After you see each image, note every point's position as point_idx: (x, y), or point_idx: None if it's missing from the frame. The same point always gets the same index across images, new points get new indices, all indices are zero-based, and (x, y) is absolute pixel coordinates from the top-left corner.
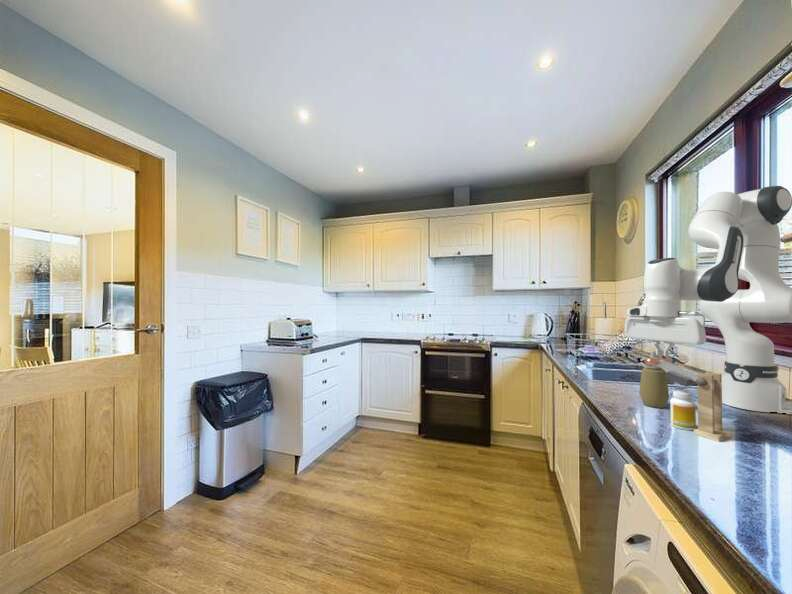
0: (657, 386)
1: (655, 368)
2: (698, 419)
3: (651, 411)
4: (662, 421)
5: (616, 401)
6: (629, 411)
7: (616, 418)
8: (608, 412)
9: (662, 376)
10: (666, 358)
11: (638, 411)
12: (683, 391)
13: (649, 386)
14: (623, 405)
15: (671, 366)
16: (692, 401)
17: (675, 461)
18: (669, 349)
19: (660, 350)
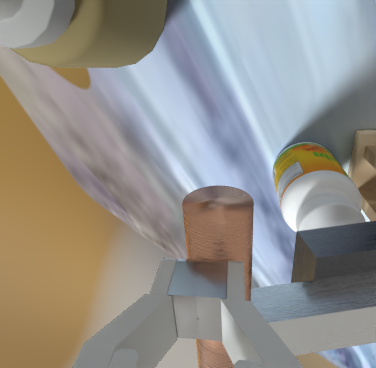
0: (133, 46)
1: (66, 31)
2: (367, 215)
3: (174, 100)
4: (247, 170)
5: (54, 98)
6: (151, 165)
7: (181, 247)
8: (140, 223)
9: (120, 10)
10: (246, 279)
11: (159, 140)
12: (329, 214)
13: (109, 65)
14: (98, 122)
15: (326, 343)
16: (355, 202)
17: (367, 351)
18: (261, 327)
19: (197, 336)
